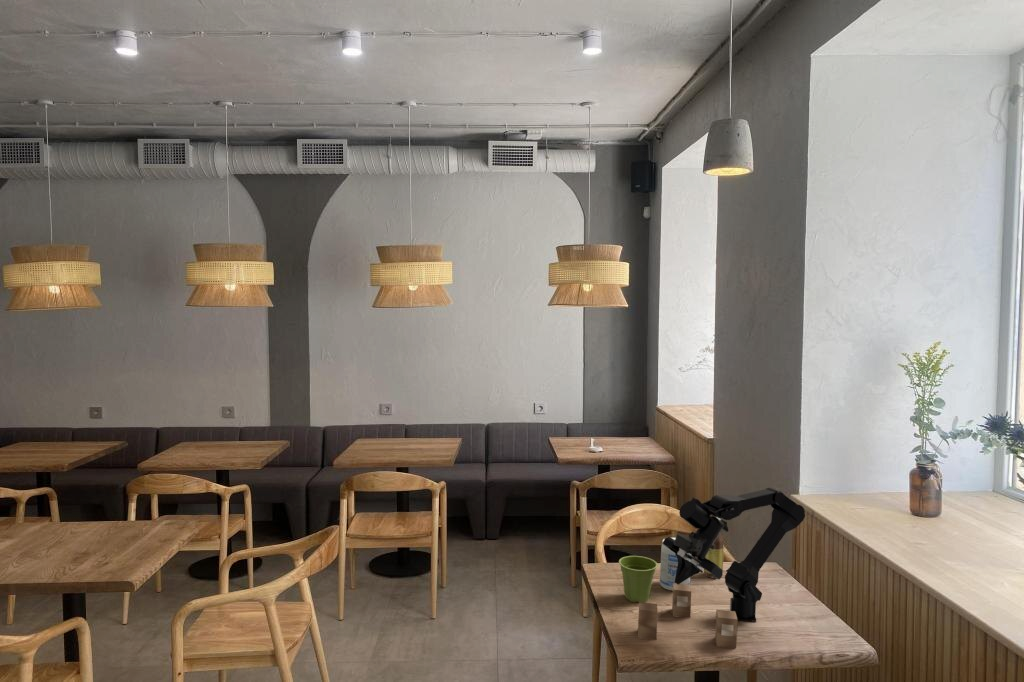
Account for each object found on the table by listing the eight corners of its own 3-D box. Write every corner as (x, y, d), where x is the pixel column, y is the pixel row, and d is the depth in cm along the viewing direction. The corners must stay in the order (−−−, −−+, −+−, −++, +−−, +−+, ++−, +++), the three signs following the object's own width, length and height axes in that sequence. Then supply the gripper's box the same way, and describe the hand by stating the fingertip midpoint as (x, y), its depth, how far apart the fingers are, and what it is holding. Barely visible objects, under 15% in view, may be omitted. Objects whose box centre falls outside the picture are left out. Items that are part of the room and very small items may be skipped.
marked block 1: (689, 610, 217) (690, 584, 216) (690, 618, 212) (691, 591, 211) (672, 609, 218) (673, 583, 217) (672, 616, 212) (673, 590, 212)
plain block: (656, 631, 203) (657, 603, 202) (656, 640, 198) (657, 611, 197) (638, 629, 204) (639, 602, 203) (637, 638, 199) (638, 609, 198)
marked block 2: (733, 639, 199) (735, 611, 199) (736, 648, 194) (737, 619, 193) (715, 637, 200) (716, 609, 199) (717, 646, 195) (718, 617, 194)
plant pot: (612, 601, 222) (613, 565, 222) (625, 587, 233) (626, 553, 232) (649, 609, 217) (651, 572, 216) (661, 595, 227) (662, 560, 227)
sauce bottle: (708, 570, 249) (710, 513, 247) (725, 575, 245) (728, 517, 243) (699, 576, 243) (702, 518, 242) (717, 581, 240) (719, 522, 238)
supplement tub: (668, 593, 229) (669, 548, 228) (654, 582, 238) (656, 538, 237) (695, 590, 231) (697, 545, 230) (681, 579, 240) (682, 536, 239)
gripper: (667, 511, 209) (638, 557, 207) (716, 538, 194) (686, 588, 191) (686, 527, 215) (658, 572, 213) (735, 554, 200) (706, 603, 197)
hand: (676, 583), depth 203 cm, fingers closed
